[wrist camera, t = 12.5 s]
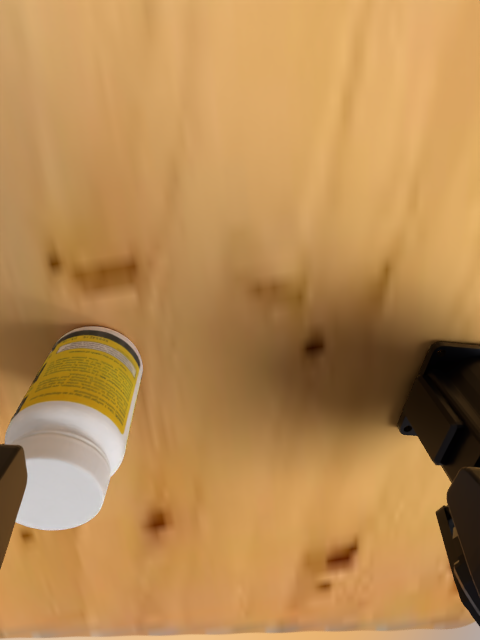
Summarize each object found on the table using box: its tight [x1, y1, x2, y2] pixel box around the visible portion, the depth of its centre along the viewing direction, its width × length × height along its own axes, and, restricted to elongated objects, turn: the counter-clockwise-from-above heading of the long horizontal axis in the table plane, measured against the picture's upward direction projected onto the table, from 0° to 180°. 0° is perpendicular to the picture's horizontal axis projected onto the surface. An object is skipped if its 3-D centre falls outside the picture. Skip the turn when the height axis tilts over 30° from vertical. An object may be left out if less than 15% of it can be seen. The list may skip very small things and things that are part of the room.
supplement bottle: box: [5, 326, 143, 530], centre depth 19 cm, size 5×5×8 cm
